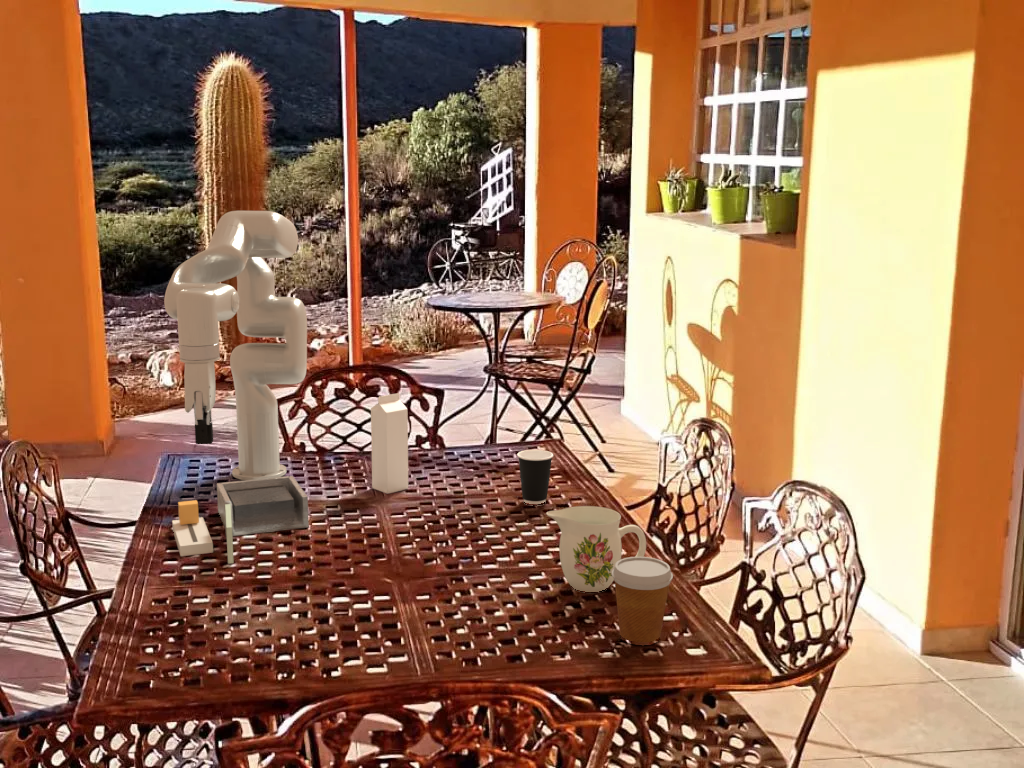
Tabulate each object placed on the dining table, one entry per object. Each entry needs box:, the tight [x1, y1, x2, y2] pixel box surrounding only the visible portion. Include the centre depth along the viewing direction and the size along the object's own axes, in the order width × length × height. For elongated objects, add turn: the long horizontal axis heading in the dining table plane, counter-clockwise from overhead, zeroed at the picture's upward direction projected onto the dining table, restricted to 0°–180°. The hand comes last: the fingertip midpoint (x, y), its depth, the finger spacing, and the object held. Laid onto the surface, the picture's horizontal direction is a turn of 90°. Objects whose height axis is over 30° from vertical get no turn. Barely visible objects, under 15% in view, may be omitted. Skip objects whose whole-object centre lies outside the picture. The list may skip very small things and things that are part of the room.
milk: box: [370, 392, 409, 494], centre depth 247 cm, size 6×6×22 cm
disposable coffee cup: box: [612, 556, 674, 642], centre depth 171 cm, size 10×10×12 cm
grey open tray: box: [216, 475, 309, 537], centre depth 226 cm, size 16×16×6 cm
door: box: [224, 501, 235, 564], centre depth 208 cm, size 1×16×7 cm, turn 15°
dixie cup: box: [516, 449, 554, 504], centre depth 239 cm, size 8×8×11 cm
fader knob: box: [177, 499, 200, 525], centre depth 217 cm, size 2×4×4 cm, turn 112°
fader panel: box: [171, 516, 214, 557], centre depth 213 cm, size 16×6×2 cm, turn 22°
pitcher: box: [546, 505, 647, 593], centre depth 192 cm, size 11×18×14 cm, turn 97°
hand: (204, 442), depth 216 cm, fingers closed
